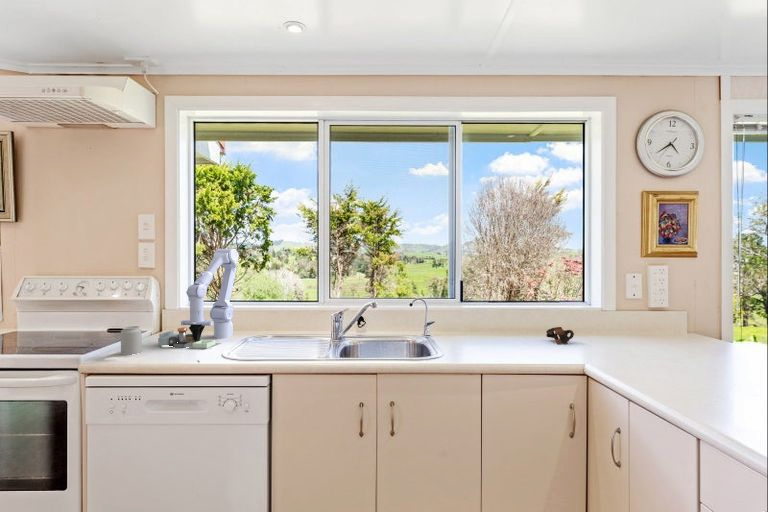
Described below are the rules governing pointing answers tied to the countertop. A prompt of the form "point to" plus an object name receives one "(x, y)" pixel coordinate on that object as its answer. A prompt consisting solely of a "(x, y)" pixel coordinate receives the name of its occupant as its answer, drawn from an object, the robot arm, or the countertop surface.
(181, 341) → the pin
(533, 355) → the countertop surface
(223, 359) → the countertop surface
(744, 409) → the countertop surface
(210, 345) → the tray
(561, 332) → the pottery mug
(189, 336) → the wooden cube
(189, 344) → the ramp board
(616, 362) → the countertop surface
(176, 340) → the trolley
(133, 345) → the can
